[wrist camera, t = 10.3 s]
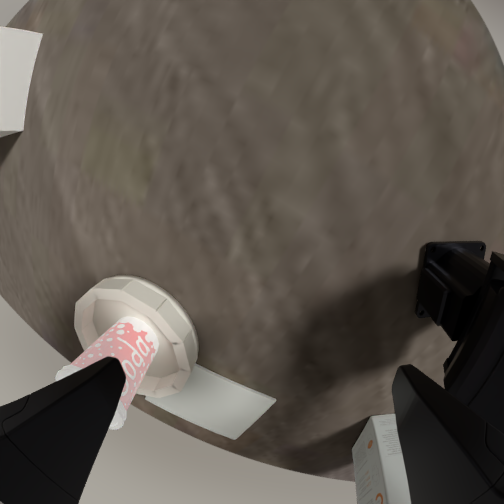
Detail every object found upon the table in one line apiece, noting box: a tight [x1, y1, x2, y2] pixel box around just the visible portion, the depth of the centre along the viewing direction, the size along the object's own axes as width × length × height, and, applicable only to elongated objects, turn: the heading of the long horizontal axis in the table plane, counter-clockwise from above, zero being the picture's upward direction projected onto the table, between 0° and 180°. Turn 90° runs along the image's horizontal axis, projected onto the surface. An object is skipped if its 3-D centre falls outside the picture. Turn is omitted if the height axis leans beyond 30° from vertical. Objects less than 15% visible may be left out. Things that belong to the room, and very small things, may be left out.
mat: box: [145, 363, 276, 440], centre depth 26 cm, size 12×10×1 cm
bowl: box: [74, 274, 199, 398], centre depth 23 cm, size 12×12×3 cm
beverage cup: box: [55, 316, 159, 430], centre depth 16 cm, size 6×6×14 cm
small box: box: [352, 414, 411, 504], centre depth 19 cm, size 8×6×13 cm
